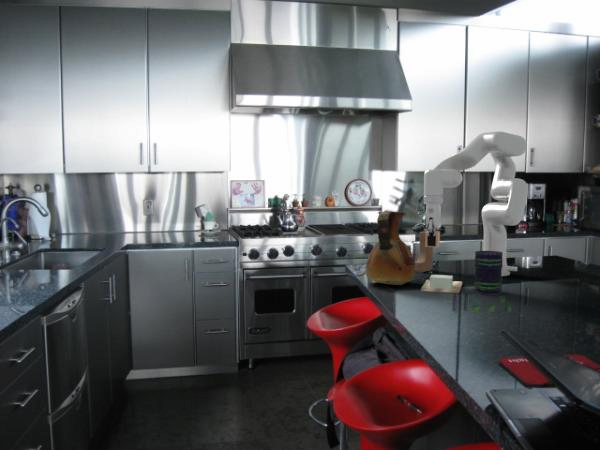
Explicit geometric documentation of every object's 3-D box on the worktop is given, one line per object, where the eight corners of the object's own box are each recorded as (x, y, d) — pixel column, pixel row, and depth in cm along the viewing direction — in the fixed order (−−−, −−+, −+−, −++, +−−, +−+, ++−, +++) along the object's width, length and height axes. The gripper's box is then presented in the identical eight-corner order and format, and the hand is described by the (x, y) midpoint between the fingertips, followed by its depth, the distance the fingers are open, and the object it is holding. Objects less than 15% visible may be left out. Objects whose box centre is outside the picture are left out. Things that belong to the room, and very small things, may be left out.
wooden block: (421, 272, 245) (421, 233, 243) (413, 271, 248) (413, 232, 247) (432, 270, 251) (433, 231, 249) (424, 269, 254) (425, 231, 252)
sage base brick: (452, 285, 209) (452, 275, 209) (451, 288, 204) (451, 278, 203) (431, 284, 212) (431, 274, 212) (429, 287, 206) (429, 277, 206)
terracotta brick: (439, 246, 221) (439, 231, 220) (437, 247, 216) (438, 232, 216) (427, 245, 223) (427, 231, 222) (425, 246, 218) (425, 232, 217)
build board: (462, 284, 218) (462, 281, 217) (459, 293, 201) (459, 290, 201) (426, 282, 222) (426, 279, 222) (421, 290, 206) (421, 288, 205)
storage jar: (502, 290, 205) (502, 251, 204) (502, 295, 196) (503, 254, 194) (474, 288, 208) (474, 250, 207) (473, 294, 199) (474, 253, 198)
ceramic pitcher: (420, 281, 225) (420, 209, 222) (408, 290, 206) (408, 212, 204) (374, 278, 233) (374, 208, 230) (359, 287, 215) (359, 211, 212)
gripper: (439, 201, 208) (439, 248, 210) (445, 199, 224) (444, 243, 226) (420, 200, 211) (419, 247, 213) (427, 199, 227) (426, 242, 228)
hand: (432, 244), depth 219 cm, fingers closed on terracotta brick, 5 cm apart
